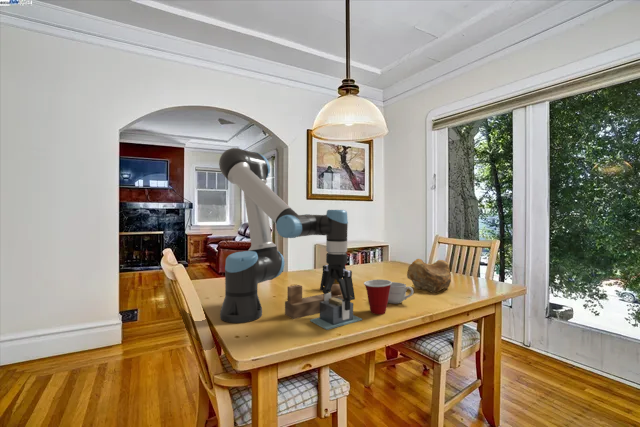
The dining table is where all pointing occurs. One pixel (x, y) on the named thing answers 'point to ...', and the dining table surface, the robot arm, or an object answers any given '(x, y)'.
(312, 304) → the plane body
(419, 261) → the rough brown rock
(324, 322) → the rubber mat
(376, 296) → the plastic cup
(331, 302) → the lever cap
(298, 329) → the dining table surface
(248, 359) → the dining table surface
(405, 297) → the teacup
